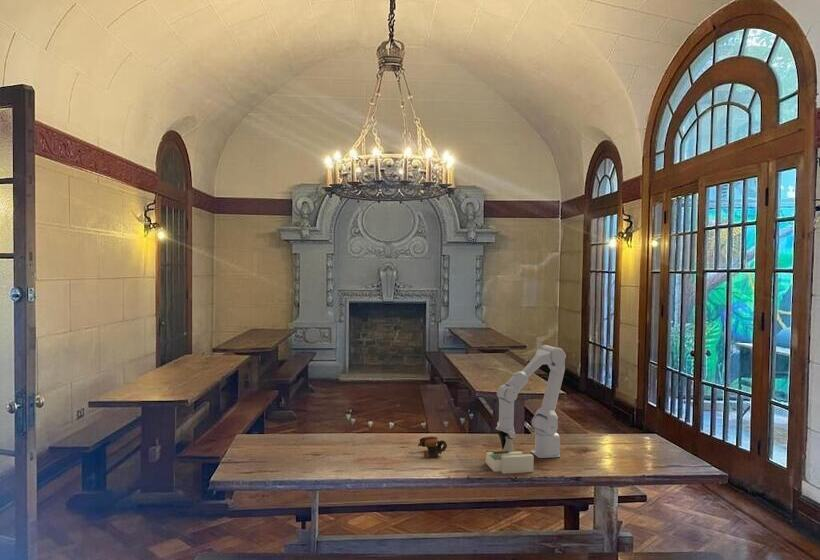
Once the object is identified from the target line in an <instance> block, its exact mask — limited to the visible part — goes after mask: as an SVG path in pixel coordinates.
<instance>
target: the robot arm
mask: <svg viewBox="0 0 820 560" xmlns="http://www.w3.org/2000/svg"><path fill="white" fill-rule="evenodd" d="M566 357H567V354H566V353H565V350H564V349H562V348H561V347H557V346H551V345H548V344H542V345H541V346H540V347H539V348H538V349H537V350H536V351H535V355H534V356H533V357H532V359H531V360H530V361H529V362H528V363H527V365H525V367H524V368H523V369H522V370H520V371H516V372H514V373H513V376H512V377H510V379H508V380H507V381H506V382H505V384H502V385H500V386H499V387H498V388H497V391H496V396H497V398H498V405H499V406H498V421H497V423H496V425H497V426H495V430H497V434H498V437H499V439H500V444H501V449H502V451H503V449H504V446H505V443H506V438H505V437H506V436H510V438H514V439H515V438H516V432H515V428H514V423H515V421H514V420H515V417H514V416H515V401H516V400H517V398H518V394H520V391H521V390H522V389H523V388H524V387H525V386H526V385H527V384H528V382H529V377H530V376H531V375H533V374H534V373H535V372H536V371H537V370H538V369H539V368H540V367H541V366H542V365H547V366H548V367H547V368H548V369H549V370H550V371H549V375H548V379H547V382H546V387H545V391H544V394H543V395H544V396H543V398H542V403H541V406H540V407H539V408H538V409H537V410H536V411H535V414H534V416H533V417H532V419H531V425H532V427H533V429H534V432H535V433H534V436H535V438H534V450H530V452H531V454H532V455H533V456H536V457H537V458H538V459H547V458H548V459H550V458H560V457H561V453H560V452H561V437H560V435H559V433H558V432H557V430H558V428H559V423H558V420H559V417H558V415H557V413H556V407H557V404H558V400H559V395H560V391H561V387H562V383H563V379H564V375H565V371H566V364H565V363H566Z"/></svg>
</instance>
